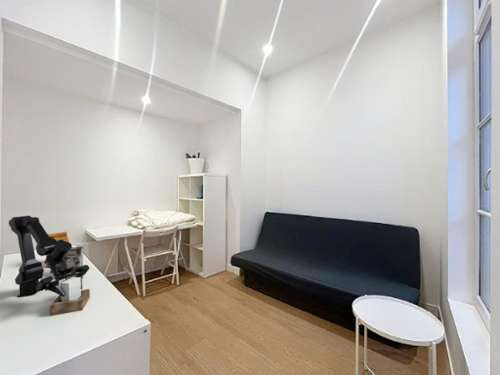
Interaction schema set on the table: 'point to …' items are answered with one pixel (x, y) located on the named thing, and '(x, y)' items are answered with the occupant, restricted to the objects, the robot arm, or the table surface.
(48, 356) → the table surface
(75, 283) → the skincare box
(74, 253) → the coffee box
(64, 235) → the coffee package
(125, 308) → the table surface
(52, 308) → the walnut socket block
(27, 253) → the robot arm
